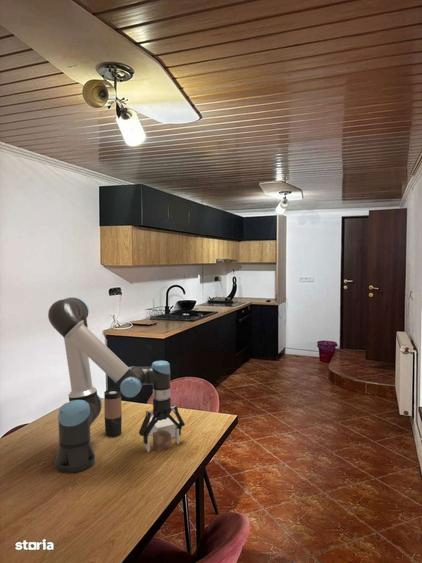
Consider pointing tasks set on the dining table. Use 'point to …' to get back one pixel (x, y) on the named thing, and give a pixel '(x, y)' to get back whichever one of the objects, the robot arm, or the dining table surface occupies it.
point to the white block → (164, 426)
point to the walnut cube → (162, 440)
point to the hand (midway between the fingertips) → (162, 446)
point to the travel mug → (112, 412)
